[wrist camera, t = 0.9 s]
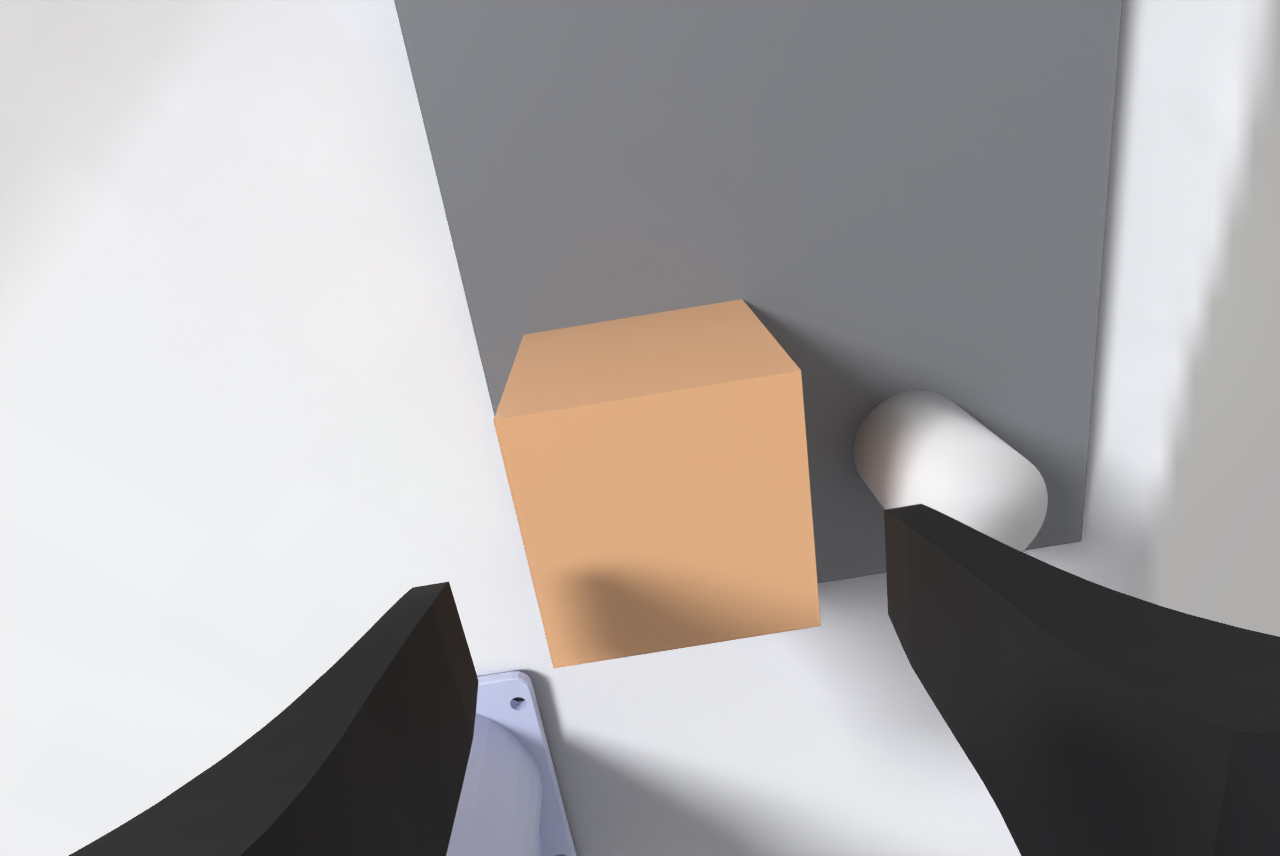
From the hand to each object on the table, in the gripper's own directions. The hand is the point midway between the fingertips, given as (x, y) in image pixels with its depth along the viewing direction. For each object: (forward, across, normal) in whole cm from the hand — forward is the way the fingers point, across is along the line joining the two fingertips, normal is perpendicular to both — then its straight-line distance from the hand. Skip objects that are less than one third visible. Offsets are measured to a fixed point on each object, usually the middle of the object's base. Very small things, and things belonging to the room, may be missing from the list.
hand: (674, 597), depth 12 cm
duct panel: (+9, -4, -3) cm, 11 cm away
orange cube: (+8, 0, 0) cm, 8 cm away
